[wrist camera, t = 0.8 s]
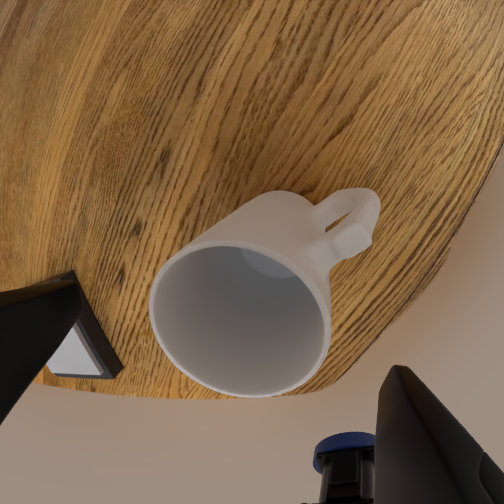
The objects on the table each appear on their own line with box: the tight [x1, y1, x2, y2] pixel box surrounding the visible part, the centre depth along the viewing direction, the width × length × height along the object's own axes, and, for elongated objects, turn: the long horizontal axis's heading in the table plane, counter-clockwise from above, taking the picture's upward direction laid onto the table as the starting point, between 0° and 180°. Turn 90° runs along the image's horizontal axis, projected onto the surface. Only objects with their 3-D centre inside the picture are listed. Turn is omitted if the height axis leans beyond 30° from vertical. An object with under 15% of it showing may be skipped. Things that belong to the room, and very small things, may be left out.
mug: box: [149, 188, 380, 398], centre depth 16 cm, size 10×7×12 cm, turn 130°
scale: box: [29, 270, 124, 379], centre depth 30 cm, size 12×12×3 cm
